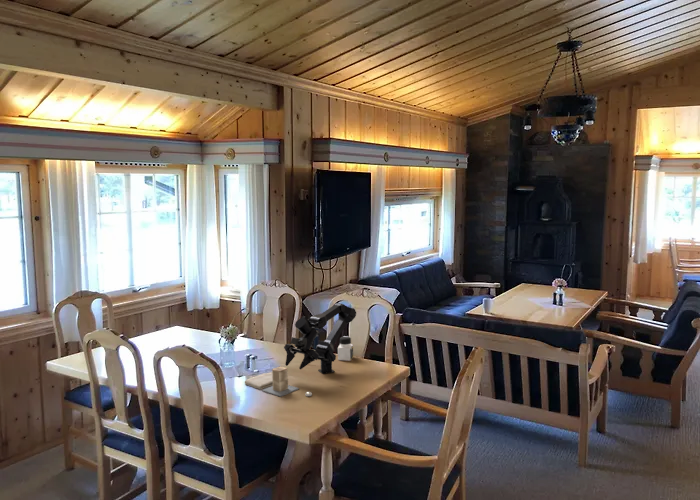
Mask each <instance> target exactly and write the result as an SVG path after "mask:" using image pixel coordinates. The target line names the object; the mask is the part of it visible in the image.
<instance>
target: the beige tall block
mask: <svg viewBox="0 0 700 500" xmlns="http://www.w3.org/2000/svg"><path fill="white" fill-rule="evenodd" d="M271 372H272V378H273V390H276V391H280V392H281V391H284V390H286V389H288V385H289V378H288V377H289V373H288V367H284V366H278V367H277V366H276V367H274V368H272V370H271Z"/></svg>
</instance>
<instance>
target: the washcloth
mask: <svg viewBox="0 0 700 500" xmlns="http://www.w3.org/2000/svg"><path fill="white" fill-rule="evenodd" d="M244 384H245V385H246V386H249V387H252V388H255V389H256V390H264V389H266V388H269V387H271V386H273V378H272V371H269V372H267V373H264V372H263V373H261V374H259V375H255V376H253V377H250V378H247V379H246V380H245V381H244Z"/></svg>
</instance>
